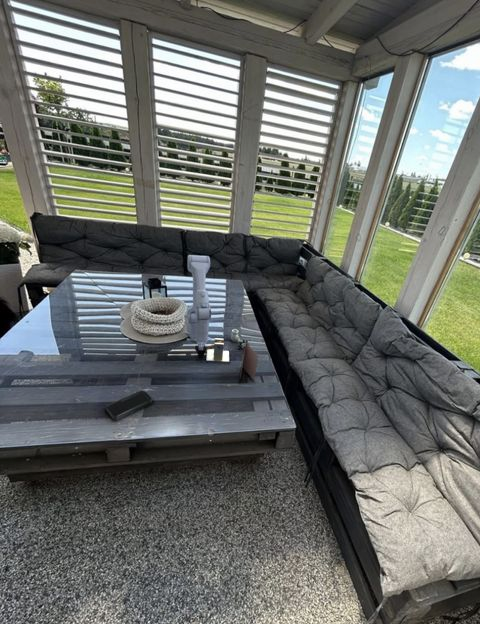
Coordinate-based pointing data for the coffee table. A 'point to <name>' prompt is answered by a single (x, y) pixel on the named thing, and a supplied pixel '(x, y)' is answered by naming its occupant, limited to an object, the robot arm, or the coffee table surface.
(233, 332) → the valve
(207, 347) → the lever
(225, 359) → the tap bracket
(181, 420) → the coffee table surface
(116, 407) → the phone
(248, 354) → the greeting card
